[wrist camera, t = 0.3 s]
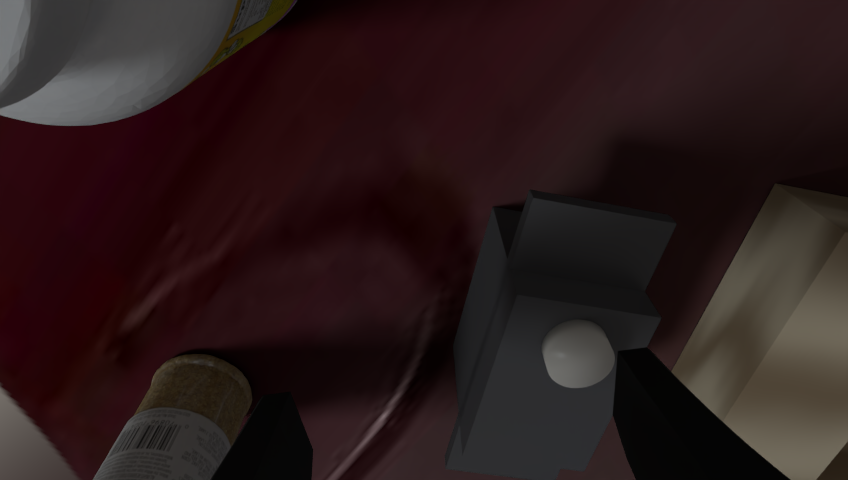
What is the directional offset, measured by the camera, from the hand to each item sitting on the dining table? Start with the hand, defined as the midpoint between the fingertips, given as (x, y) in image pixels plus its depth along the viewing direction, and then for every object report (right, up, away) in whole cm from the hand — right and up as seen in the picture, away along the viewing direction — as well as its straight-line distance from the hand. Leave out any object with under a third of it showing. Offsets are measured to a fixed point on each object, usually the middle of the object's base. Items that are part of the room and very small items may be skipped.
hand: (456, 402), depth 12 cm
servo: (+3, +2, +11) cm, 12 cm away
